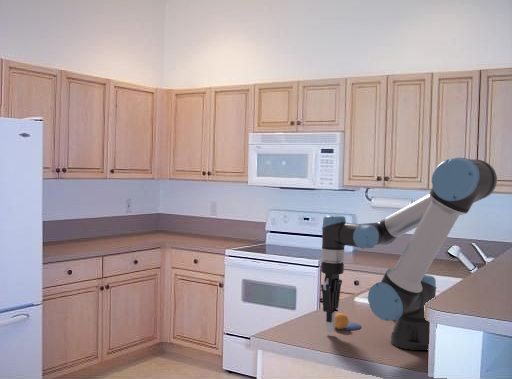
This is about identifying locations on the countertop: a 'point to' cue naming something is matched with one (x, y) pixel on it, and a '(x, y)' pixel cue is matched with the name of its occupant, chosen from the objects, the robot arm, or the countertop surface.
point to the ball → (341, 321)
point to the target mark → (351, 326)
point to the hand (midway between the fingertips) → (330, 330)
